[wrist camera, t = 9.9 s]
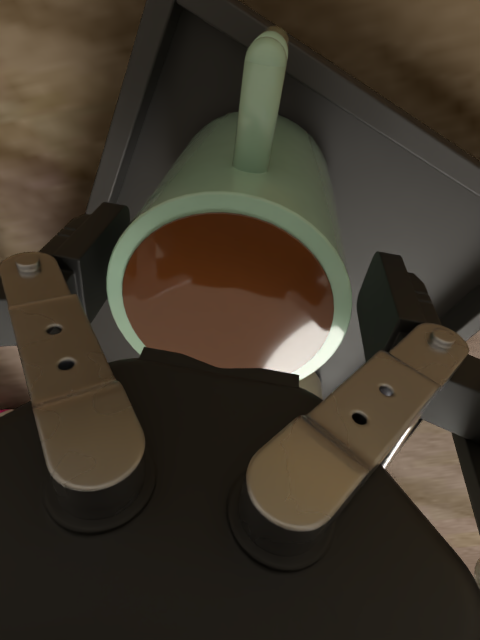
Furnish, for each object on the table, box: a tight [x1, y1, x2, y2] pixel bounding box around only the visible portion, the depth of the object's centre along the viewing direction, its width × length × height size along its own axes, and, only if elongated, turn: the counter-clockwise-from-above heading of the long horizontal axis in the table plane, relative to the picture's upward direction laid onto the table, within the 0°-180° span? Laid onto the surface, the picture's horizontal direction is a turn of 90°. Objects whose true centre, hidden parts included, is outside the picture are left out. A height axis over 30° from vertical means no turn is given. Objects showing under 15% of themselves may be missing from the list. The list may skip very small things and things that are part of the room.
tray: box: [85, 0, 480, 400], centre depth 21 cm, size 18×22×2 cm
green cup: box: [106, 26, 352, 381], centre depth 13 cm, size 9×6×8 cm
